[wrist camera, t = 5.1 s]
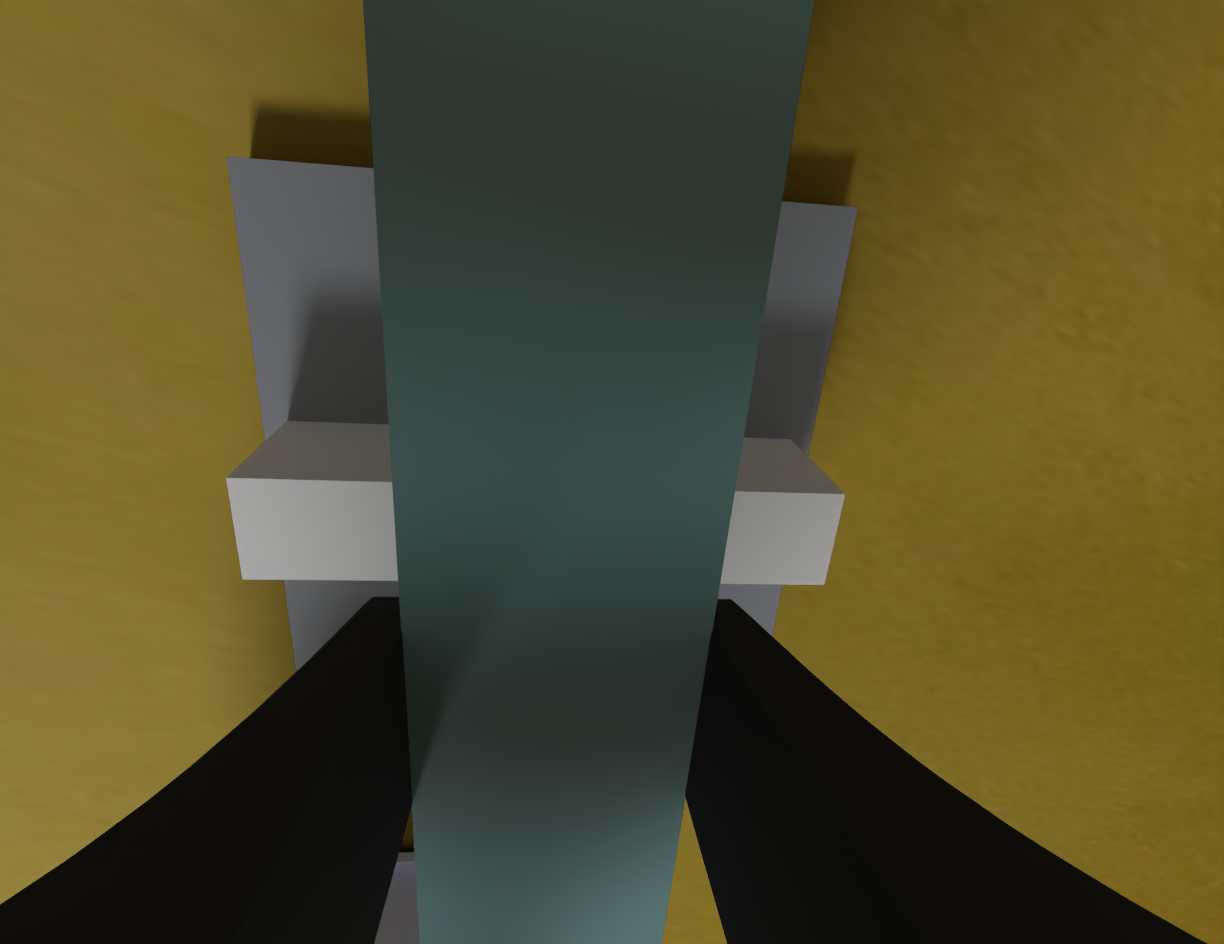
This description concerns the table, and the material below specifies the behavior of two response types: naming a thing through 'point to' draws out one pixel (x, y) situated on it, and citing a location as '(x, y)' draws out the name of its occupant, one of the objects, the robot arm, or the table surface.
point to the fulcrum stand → (358, 412)
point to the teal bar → (567, 424)
